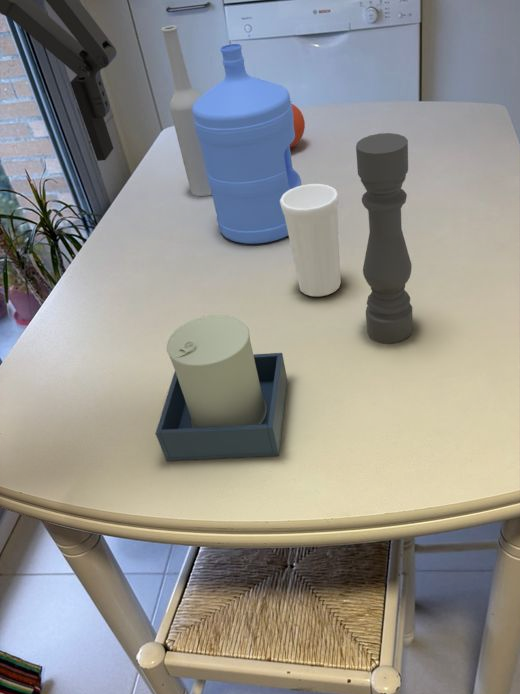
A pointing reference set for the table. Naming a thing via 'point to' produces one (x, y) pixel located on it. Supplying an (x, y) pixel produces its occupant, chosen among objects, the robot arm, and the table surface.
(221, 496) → the table surface
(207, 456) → the box
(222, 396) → the can
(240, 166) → the water jug
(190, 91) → the bottle
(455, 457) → the table surface
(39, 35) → the robot arm
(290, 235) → the cup
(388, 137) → the candle holder
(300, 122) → the tomato
